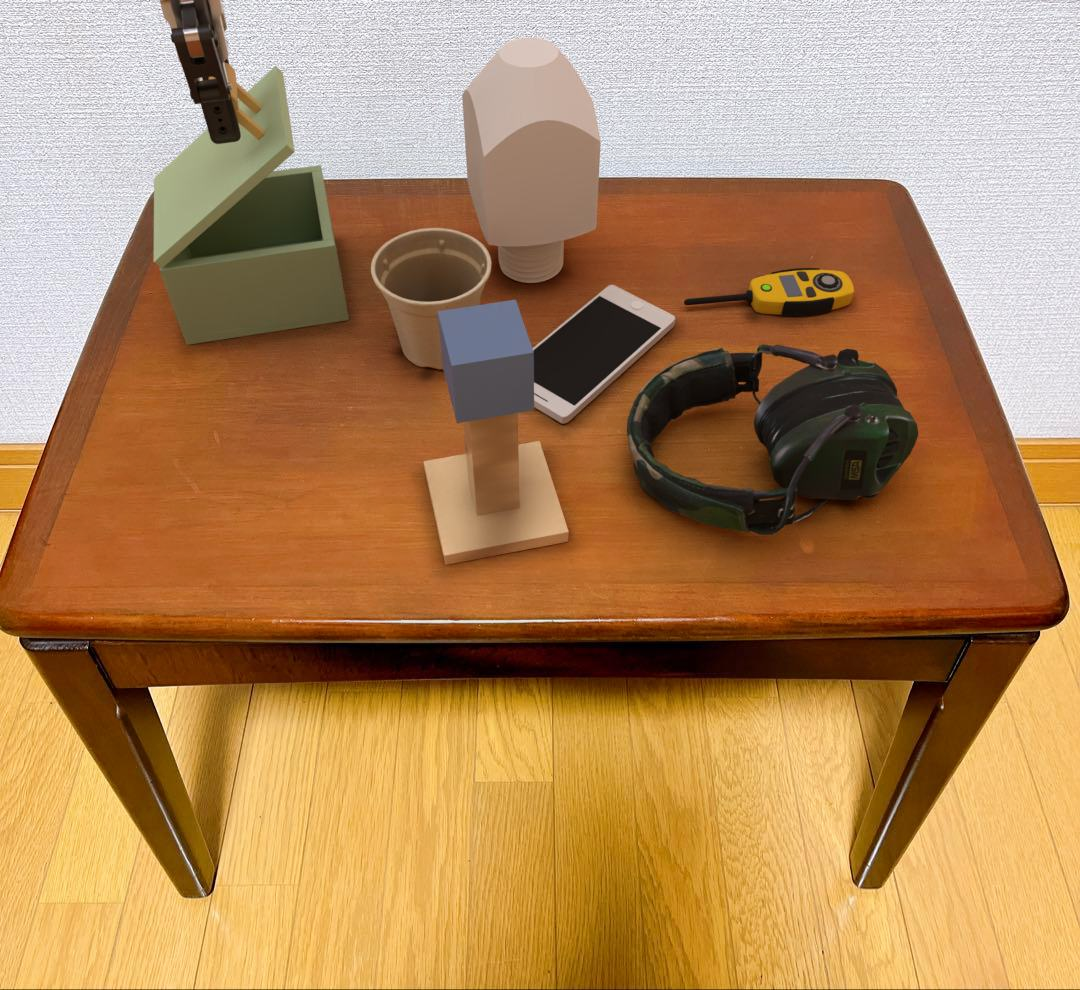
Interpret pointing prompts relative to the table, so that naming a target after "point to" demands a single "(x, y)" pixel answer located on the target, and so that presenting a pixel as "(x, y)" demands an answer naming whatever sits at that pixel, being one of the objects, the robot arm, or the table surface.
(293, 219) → the chest
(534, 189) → the light fixture
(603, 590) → the table surface
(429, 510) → the table surface
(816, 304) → the yellow walkie talkie
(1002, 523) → the table surface
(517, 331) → the block
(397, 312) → the flower pot
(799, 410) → the headphones
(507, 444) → the post
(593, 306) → the smartphone
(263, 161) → the lid
